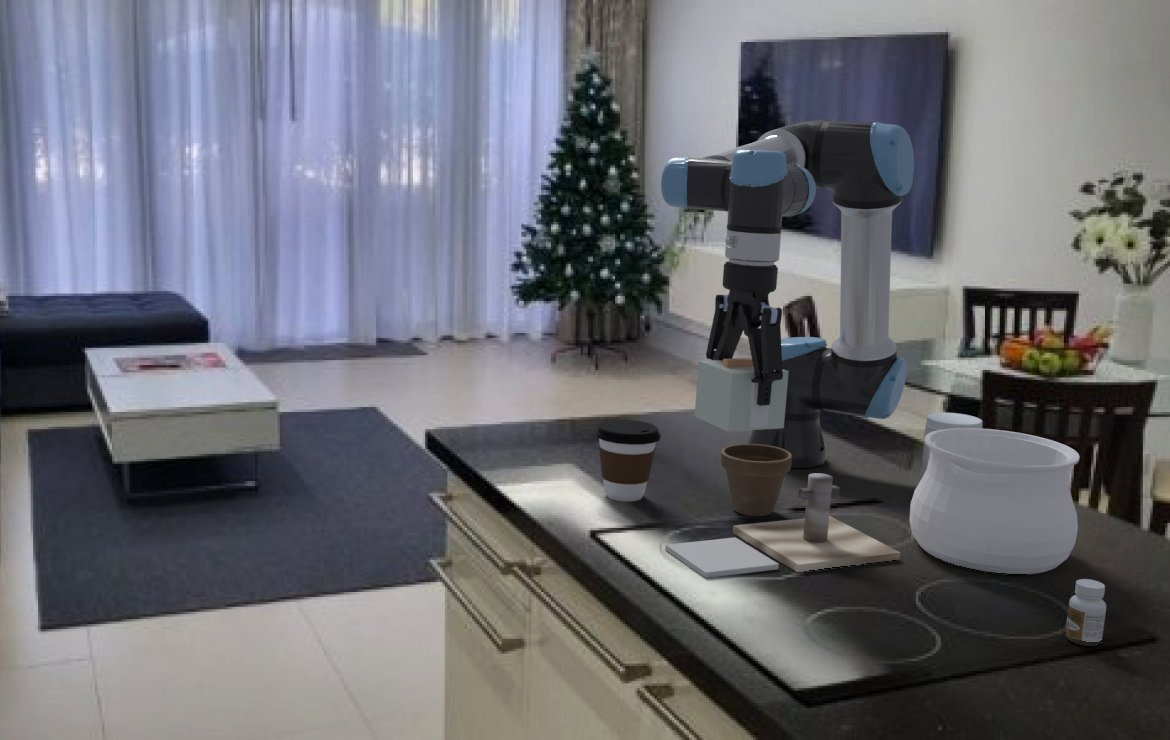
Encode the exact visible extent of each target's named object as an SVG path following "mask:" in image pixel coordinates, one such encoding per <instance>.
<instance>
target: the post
mask: <svg viewBox="0 0 1170 740" xmlns="http://www.w3.org/2000/svg"><path fill="white" fill-rule="evenodd" d="M833 479H834V477H833V476H832V475H830V474H826V473H820V472H819V473H818V472H817V473H815V472H813V473H809V474H808V477H807V487H800V488H798V496H797V497H798V498H799V499H801V500H803V501H805V509H804V510H805V514H804V518H796V519H795V518H794V519H785V520H777V521H776V520H775V521H768V522H767V521H765V522H756V523H745V524H737V525H734V524H733V527H732V534H733V535H735V536H737V537H739V539H742V540H743V541H744V542H747V543H749V544H750V545H752V546H753V547H755V548H757V549H758V550H760V551H762V552H763V553H764V554H767V556H770V557H772V558H773V559H775V560H776V561H778V562H780V563H781V564H783V565H785V566H786V567H788V568H789V569H791V570H793V571H794V572H796V573H798V572H799V573H804V571H807V572H810V571H809V570H815V571H819V570H818V569H823V570H825V569H824V568H831V569H833V568H832V567H840V566H848V567H851V566H850V565H856V566H862V565H861V564H864V565H867V564H866V563H873V564H875V563H874V562H881V563H885V562H884V561H889V562H893V561H892V560H897V561H900V560H899V559H901V552H900V551H898V550H896V549H895V548H893V547H891V546H889V545H886V544H885V543H883V542H881V541H880V540H877V539H875V538H873V537H871V536H869V535H868V534H866V533H864V532H862V531H860V530H858V529H856V528H854V527H852V526H851V525H848V524H846V523H844V522H843V521H841V520H839V519H836V518H835V517H833V516H831V515H830V512H831V502H832V498H839V497H840V493H841V487H840V486H837V485H835V484H834V485H833ZM882 561H883V562H882ZM840 568H841V567H840Z"/></svg>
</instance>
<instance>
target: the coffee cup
mask: <svg viewBox="0 0 1170 740" xmlns="http://www.w3.org/2000/svg"><path fill="white" fill-rule="evenodd" d="M659 431H660V430H659V428H658V427H657V425H654V424H652V423H649V422H645V421H640V420H631V419H612V420H606V421H602V422H601V423H599V425H598V426H597V428H596V430H595V431H594V436H595V437H597V439H598V440H599V443H598V451H599V461H600V472H601V477H602V479H603V480H602V481H603V488H604V489H603V490H604V494H605V496H606V497H607V498H608V499H610V500H612V501H613V500H614V501H617V502H626V503H627V502H636V501H640V500H642V499H643V498H644V497H643V496H644V495H645V493H646V489H647V484H648V482H649V479H650V475H651V471H652V467H653V461H654V457H655V454H656V453H655V451H656V443H657V442H659V441H660V440H661V435H662V434H661V433H660V432H659Z"/></svg>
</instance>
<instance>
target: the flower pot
mask: <svg viewBox="0 0 1170 740" xmlns="http://www.w3.org/2000/svg"><path fill="white" fill-rule="evenodd" d="M791 462H792V455H791V453H790V452H788V451H786V450H784V449H781V448H778V447H774V446H768V445H760V444H746V443H742V444H741V443H739V444H733V445H728V446H725V447H723V448H722V449H721V450H720V464H721V466H722V468H723V469H724V470H725V472H726V477H727V482H728V488H729V494H730V499H731V503H732V508H733V510H734V511H735V512H736V513H738V514H740V515H744V516H748V517H749V516H751V517H765V516H769V515H771V514H772V513H773V512H774V510H775V508H776V505H777V502H778V499H779V495H780V492H781V489H782V485H783V482H784V479H785V476H786V474H788V473H789V472H790V471H791V469H792V468H791Z"/></svg>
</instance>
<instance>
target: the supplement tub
mask: <svg viewBox="0 0 1170 740" xmlns="http://www.w3.org/2000/svg"><path fill="white" fill-rule="evenodd" d="M924 426H925V427H924V436H923V447H922V448H923V449H922V459H921V460H922V461H921V471H920V481H921V479H922V477H923V475H924V474H925V472H926V470H927V467H928V462H929V457H930V447H928V446H927V445H926V444H925V436H926V435H927V434H928V433H930V432H933V431H937V430H942V429H951V428H980V429H983V419H981V418H979V417H976V416H972V415H969V414H965V413H964V414H963V413H957V412H933V413H930V414H927V417H926V422H925V425H924ZM920 481H919V482H920Z"/></svg>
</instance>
